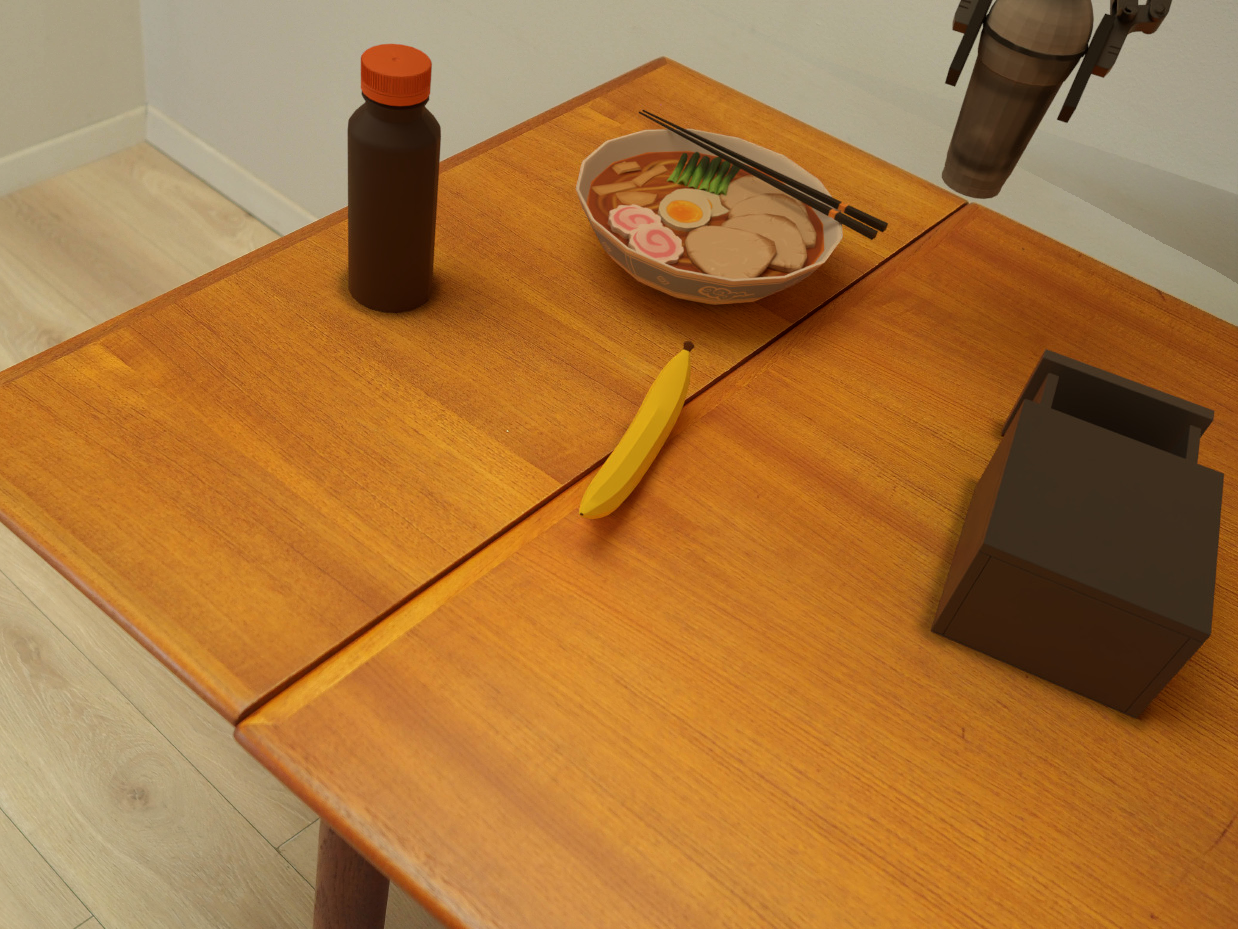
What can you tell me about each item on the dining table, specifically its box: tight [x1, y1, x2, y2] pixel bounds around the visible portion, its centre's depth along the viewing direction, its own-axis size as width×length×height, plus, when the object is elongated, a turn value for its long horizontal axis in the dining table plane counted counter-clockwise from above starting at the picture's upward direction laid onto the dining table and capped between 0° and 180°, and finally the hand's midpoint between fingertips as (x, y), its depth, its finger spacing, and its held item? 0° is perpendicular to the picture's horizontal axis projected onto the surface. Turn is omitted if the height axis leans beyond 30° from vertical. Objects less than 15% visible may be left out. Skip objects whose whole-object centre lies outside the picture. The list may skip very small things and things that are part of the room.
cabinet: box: [930, 399, 1225, 720], centre depth 78 cm, size 16×14×10 cm
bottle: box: [347, 43, 442, 314], centre depth 88 cm, size 7×7×20 cm
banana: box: [578, 340, 695, 520], centre depth 82 cm, size 3×19×6 cm, turn 154°
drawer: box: [1000, 348, 1215, 464], centre depth 85 cm, size 19×12×8 cm, turn 155°
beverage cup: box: [941, 0, 1095, 200], centre depth 81 cm, size 7×7×20 cm
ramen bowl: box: [575, 109, 889, 306], centre depth 100 cm, size 25×23×8 cm
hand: (1008, 95), depth 80 cm, fingers closed on beverage cup, 7 cm apart
